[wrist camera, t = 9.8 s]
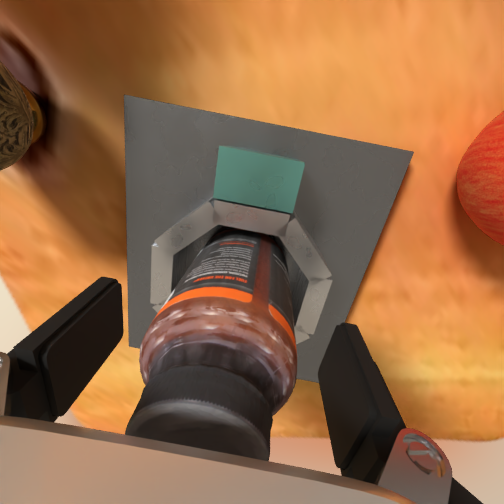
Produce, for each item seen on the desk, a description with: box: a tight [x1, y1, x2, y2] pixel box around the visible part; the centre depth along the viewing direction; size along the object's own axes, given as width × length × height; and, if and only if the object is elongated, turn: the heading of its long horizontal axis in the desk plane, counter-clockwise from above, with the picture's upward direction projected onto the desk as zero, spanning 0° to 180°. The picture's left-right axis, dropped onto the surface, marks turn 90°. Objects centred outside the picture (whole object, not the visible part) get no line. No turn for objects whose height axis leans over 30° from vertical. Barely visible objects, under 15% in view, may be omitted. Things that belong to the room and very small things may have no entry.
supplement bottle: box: [125, 228, 297, 461], centre depth 12 cm, size 6×6×11 cm
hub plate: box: [124, 95, 414, 383], centre depth 16 cm, size 18×16×4 cm
